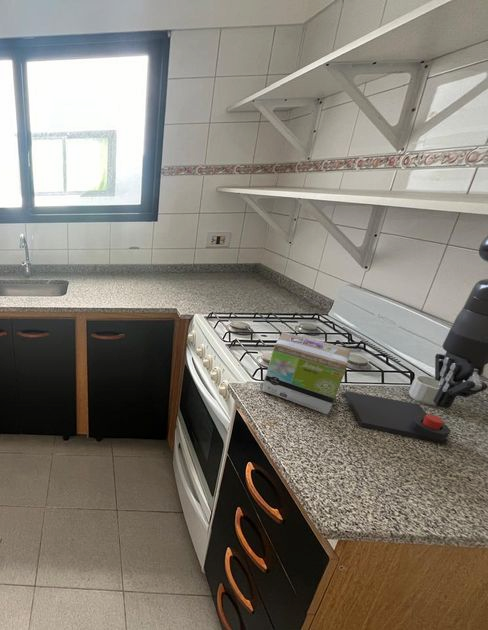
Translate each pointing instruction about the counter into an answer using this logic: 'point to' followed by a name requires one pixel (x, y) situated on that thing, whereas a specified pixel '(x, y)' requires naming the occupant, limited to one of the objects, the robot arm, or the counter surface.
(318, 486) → the counter surface
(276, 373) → the tea box
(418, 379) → the white cup
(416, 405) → the scale
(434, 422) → the button
